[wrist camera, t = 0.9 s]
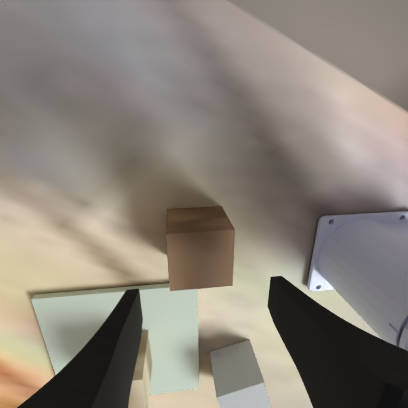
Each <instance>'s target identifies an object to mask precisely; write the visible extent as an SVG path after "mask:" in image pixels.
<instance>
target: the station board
mask: <svg viewBox="0 0 408 408" xmlns="http://www.w3.org/2000/svg"><path fill="white" fill-rule="evenodd" d="M129 289H139V292H140V300H141V308H142V316H143V323H142V331H147V330H148V332H149V340H150V349H151V357H152V372H151V383H150V394H149V395H157V394H164V393H171V392H178V391H186V390H193V389H199V351H198V302H197V289H189V290H178V291H170V286H169V283H165V284H153V285H141V286H129V287H117V288H105V289H94V290H82V291H70V292H58V293H46V294H35V295H34V296H33V298H32V299H31V301H32V304H33V307H34V310H35V313H36V316H37V320H38V323H39V326H40V329H41V332H42V335H43V338H44V341H45V344H46V347H47V350H48V354H49V357H50V360H51V363H52V366H53V369H54V372H55V375H56V374H58V373H59V372H60V371H61V370H62V369H63V368H64V367H65V366H66V365H67V364H68V363H69V362H70V361H71V360H72V359H73V358H74V357H75V356H76V355H77V354H78V353H79V351H80V350H81V349H82V348H83V347H84V346H85V345H86V344H87V343H88V341H89V340H90V339H91V338H92V337H93V335H94V334H95V333H96V332H97V331H98V329H99V328H100V327H101V326H102V324H103V323H104V322H105V320H106V319H107V318H108V316H109V315H110V314H111V312H112V311H113V309H114V308H115V306H116V305H117V304H118V302H119V301H120V299H121V297H122V296H123V294H124V293H125V291H126V290H129Z"/></svg>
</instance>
